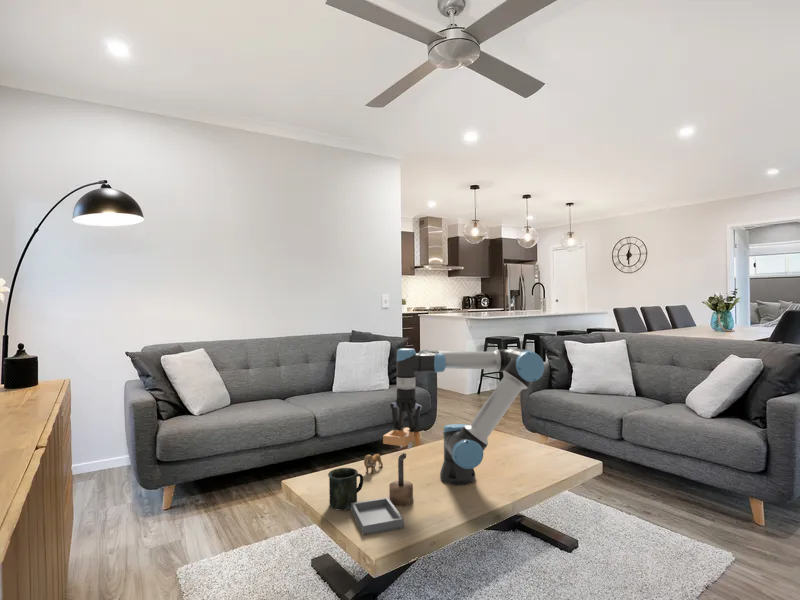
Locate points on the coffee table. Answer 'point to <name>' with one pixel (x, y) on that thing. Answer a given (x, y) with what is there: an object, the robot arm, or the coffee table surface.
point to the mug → (343, 487)
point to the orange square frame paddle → (398, 437)
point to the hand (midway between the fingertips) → (406, 447)
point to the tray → (377, 516)
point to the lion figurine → (372, 462)
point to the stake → (401, 487)
